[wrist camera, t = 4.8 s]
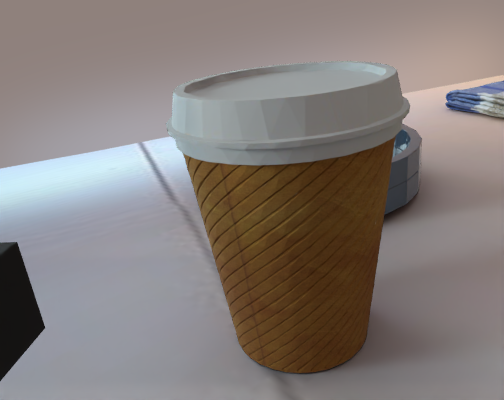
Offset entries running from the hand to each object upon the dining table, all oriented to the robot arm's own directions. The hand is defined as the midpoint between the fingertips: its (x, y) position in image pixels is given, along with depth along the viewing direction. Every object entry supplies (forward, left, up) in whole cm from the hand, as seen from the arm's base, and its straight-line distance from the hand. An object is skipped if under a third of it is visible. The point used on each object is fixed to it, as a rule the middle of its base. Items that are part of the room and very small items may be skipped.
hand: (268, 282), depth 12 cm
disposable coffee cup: (-6, +6, -9) cm, 12 cm away
